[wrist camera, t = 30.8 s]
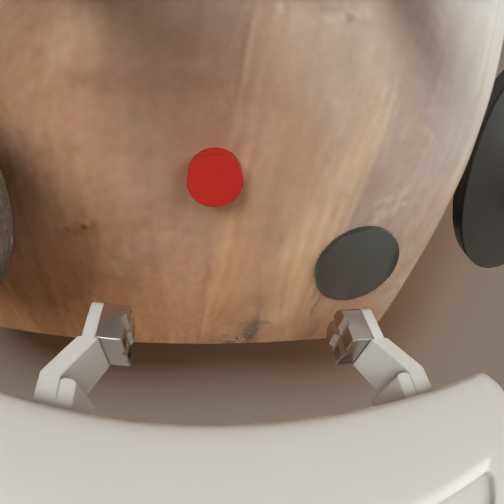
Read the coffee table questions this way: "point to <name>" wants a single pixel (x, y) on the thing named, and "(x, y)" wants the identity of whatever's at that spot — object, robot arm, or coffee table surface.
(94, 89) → the coffee table surface
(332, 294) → the coaster
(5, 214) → the bowl
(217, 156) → the cap
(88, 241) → the coffee table surface
